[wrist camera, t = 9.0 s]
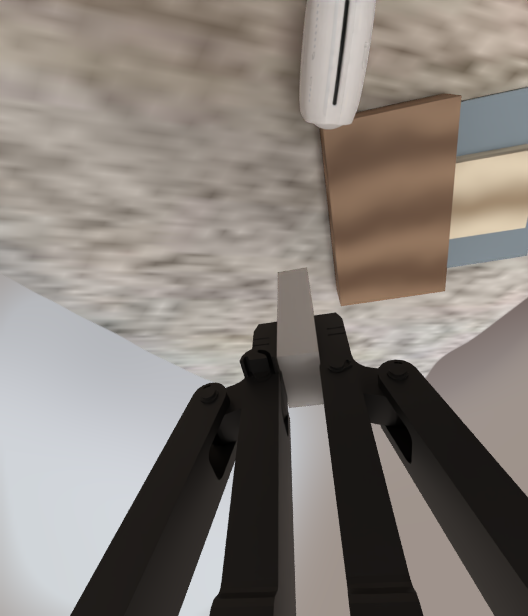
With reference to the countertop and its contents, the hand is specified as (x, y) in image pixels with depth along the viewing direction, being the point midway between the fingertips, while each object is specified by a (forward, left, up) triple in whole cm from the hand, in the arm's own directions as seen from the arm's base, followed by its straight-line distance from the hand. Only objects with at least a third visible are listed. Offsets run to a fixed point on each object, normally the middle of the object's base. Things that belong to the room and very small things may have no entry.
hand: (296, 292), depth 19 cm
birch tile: (+5, +20, -24) cm, 32 cm away
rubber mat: (+5, +21, -24) cm, 33 cm away
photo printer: (-10, +5, -25) cm, 27 cm away
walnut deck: (+5, +10, -24) cm, 27 cm away
